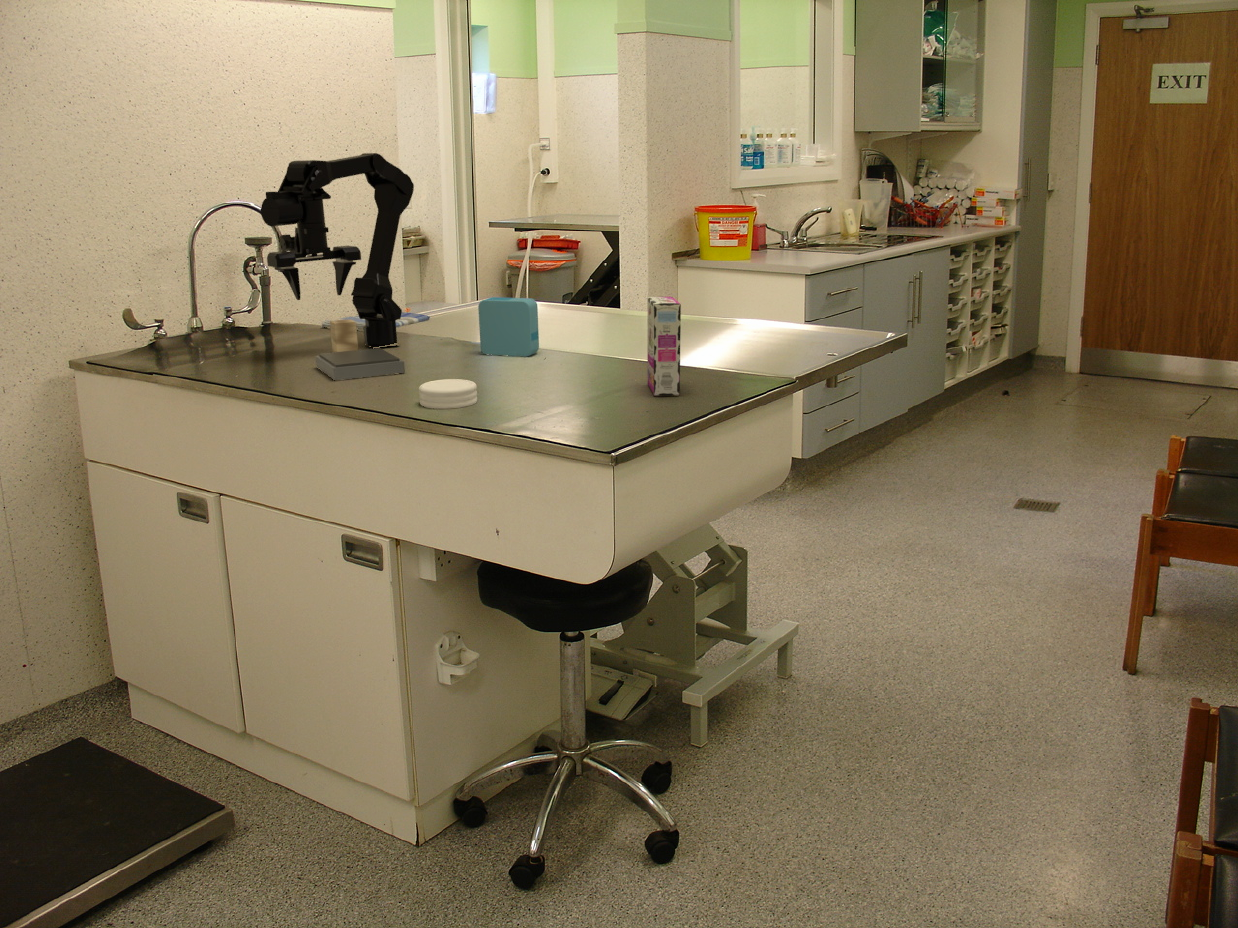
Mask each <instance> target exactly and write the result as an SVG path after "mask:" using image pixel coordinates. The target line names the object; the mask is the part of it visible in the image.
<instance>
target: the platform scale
mask: <svg viewBox="0 0 1238 928" xmlns="http://www.w3.org/2000/svg"><path fill="white" fill-rule="evenodd" d="M316 366H317V367H318V368H320V369H321V370H322V371H323V372H325V373H326V374H327V375H329V376H330V377H331V378H332V379H333V380H332V379H331V378H330V379H331V380H332V381H334V380H341V379H350V380H353V379H352V378H359V379H362V378H361V377H369V378H371V377H370V376H378V377H380V376H379V375H386V374H395V373H405V374H406V371H405V369H406V368H405V361H404V360H403V359H401V358H399V357H398V356H395V355H394V354H392V353H390V352H388V351H386V350H385V349H383V348H374V349H372V348H366V349H358V350H353V351H343V352H332V351H331V352H324V353H323V352H322V353H319V354H318V355H315V367H316ZM323 372H322V373H323ZM327 375H326V376H327ZM341 381H342V380H341Z"/></svg>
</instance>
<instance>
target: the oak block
mask: <svg viewBox="0 0 1238 928" xmlns="http://www.w3.org/2000/svg"><path fill="white" fill-rule="evenodd" d="M335 320H336V321H333V320H331V321H330V329H329V330H330V340H331V350H332V351H331V353H332V352H343V351H353V350H359V347H358V334H357V333H358V331H357V330H356V322H355V321H353V320H351V319H349V320H337V319H335Z"/></svg>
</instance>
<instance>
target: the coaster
mask: <svg viewBox="0 0 1238 928" xmlns="http://www.w3.org/2000/svg"><path fill="white" fill-rule="evenodd" d="M477 387H478V386H477V383H475V382H474V381H471V380H469V379H468V380H467V379H460V378H459V379H457V378H447V379H446V378H445V379H437V380H431V381H426V382H423V383H422V384H421V385H420V386H419V387H418V391H419V394H418V397H419V404H420V406H422V407H423V406H424V407H423V408H427V409H433V408H434V410H437V409H438V410H448V409H449V410H450V409H461V408H465V407H469V406H473V405H475V404H476V403H477V402H478V397H477V394H478V392H477Z"/></svg>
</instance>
